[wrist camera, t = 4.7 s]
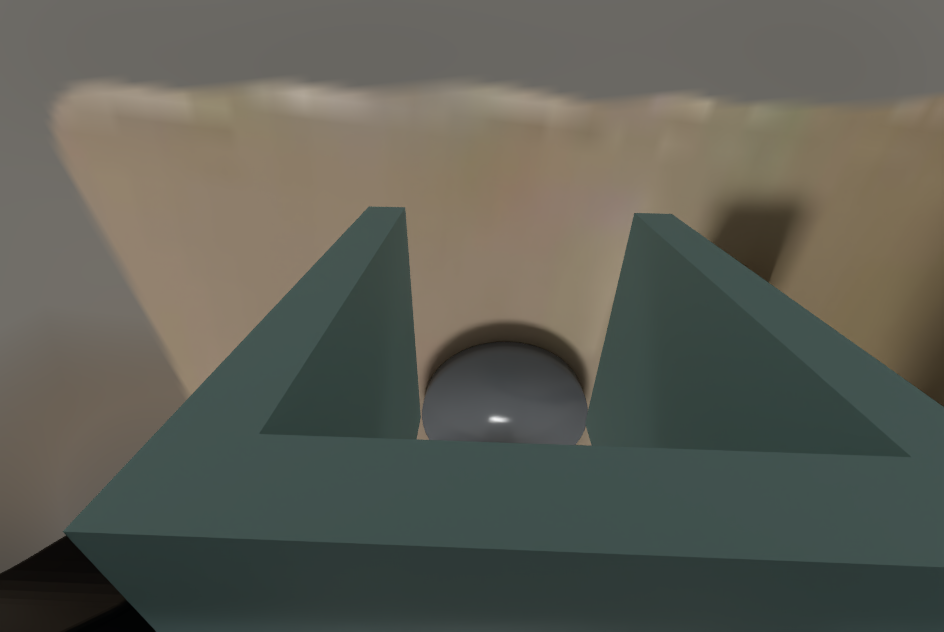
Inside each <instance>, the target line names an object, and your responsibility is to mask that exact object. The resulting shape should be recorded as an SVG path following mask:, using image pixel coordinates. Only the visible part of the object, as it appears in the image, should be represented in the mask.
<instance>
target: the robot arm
mask: <svg viewBox="0 0 944 632" xmlns="http://www.w3.org/2000/svg"><path fill="white" fill-rule="evenodd" d="M0 632H156V631H155V630H154V629H153V628H152V626H151V625H150V624H149V623H148V622H147V621H146V620H145V619H144V618H143V617H142V616H141V615H140V614H139V613H138V611H137V610H136V609H135V608H134V607H133V606H132V605H131V604H130V603H129V602H128V601H127V600H126V599H125V598H124V596H123V595H122V594H121V593H120V592H119V591H118V590H117V589H116V588H115V587H114V586H113V585H112V584H111V583H110V581H109V580H108V579H107V578H106V577H105V576H104V575H103V574H102V573H101V572H100V571H99V570H98V569H97V568H96V566H95V565H94V564H93V563H92V562H91V561H90V560H89V559H88V558H87V557H86V556H85V555H84V554H83V553H82V551H81V550H80V549H79V548H78V547H77V546H76V545H75V544H74V543H73V542H72V541H71V540H70V539H69V538H68V537H67V535H66V536H64V537H63V538H61V539H59V540H58V541H56V542H54V543H53V544H51V545H49V546H48V547H46V548H44V549H43V550H41V551H39V552H38V553H36V554H34V555H33V556H31V557H29V558H28V559H26V560H24V561H22V562H21V563H19V564H17V565H15V566H14V567H12V568H10V569H8V570H6V571H4V572H2V573H0Z"/></svg>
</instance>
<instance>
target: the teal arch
mask: <svg viewBox="0 0 944 632" xmlns="http://www.w3.org/2000/svg"><path fill="white" fill-rule="evenodd" d="M420 418H421V416H420V403H419V389H418V375H417V362H416V348H415V334H414V321H413V307H412V294H411V280H410V266H409V253H408V239H407V226H406V212H405V207H368V208H367V209H366V210H365V211H364V212H363V213H362V215H361V216H360V217H359V218H358V219H357V220H356V221H355V222H354V223H353V224H352V225H351V226H350V227H349V228H348V229H347V230H346V232H345V233H344V234H343V235H342V236H341V237H340V238H339V239H338V240H337V241H336V242H335V243H334V244H333V245H332V246H331V247H330V249H329V250H328V251H327V252H326V253H325V254H324V255H323V256H322V257H321V258H320V259H319V260H318V261H317V262H316V263H315V264H314V265H313V267H312V268H311V269H310V270H309V271H308V272H307V273H306V274H305V275H304V276H303V277H302V278H301V279H300V280H299V281H298V282H297V284H296V285H295V286H294V287H293V288H292V289H291V290H290V291H289V292H288V293H287V294H286V295H285V296H284V297H283V298H282V299H281V301H280V302H279V303H278V304H277V305H276V306H275V307H274V308H273V309H272V310H271V311H270V312H269V313H268V314H267V315H266V316H265V318H264V319H263V320H262V321H261V322H260V323H259V324H258V325H257V326H256V327H255V328H254V329H253V330H252V331H251V332H250V333H249V334H248V336H247V337H246V338H245V339H244V340H243V341H242V342H241V343H240V344H239V345H238V346H237V347H236V348H235V349H234V350H233V351H232V353H231V354H230V355H229V356H228V357H227V358H226V359H225V360H224V361H223V362H222V363H221V364H220V365H219V366H218V367H217V368H216V370H215V371H214V372H213V373H212V374H211V375H210V376H209V377H208V378H207V379H206V380H205V381H204V382H203V383H202V384H201V385H200V387H199V388H198V389H197V390H196V391H195V392H194V393H193V394H192V395H191V396H190V397H189V398H188V399H187V400H186V401H185V403H184V404H183V405H182V406H181V407H180V408H179V409H178V410H177V411H176V412H175V413H174V414H173V415H172V416H171V417H170V418H169V419H168V420H167V422H166V423H165V424H164V425H163V426H162V427H161V428H160V429H159V430H158V431H157V432H156V433H155V434H154V435H153V436H152V437H151V439H150V440H149V441H148V442H147V443H146V444H145V445H144V446H143V447H142V448H141V449H140V450H139V451H138V452H137V454H136V455H135V456H134V457H133V458H132V459H131V460H130V461H129V462H128V463H127V464H126V465H125V466H124V467H123V468H122V469H121V471H120V472H118V474H117V475H116V476H115V477H114V478H113V479H112V480H111V481H110V482H109V483H108V484H107V485H106V486H105V487H104V489H102V491H101V492H100V493H99V494H98V495H97V496H96V497H95V498H94V499H93V500H92V501H91V502H90V503H89V504H88V506H86V508H85V509H84V510H83V511H82V512H81V513H80V514H79V515H78V516H77V517H76V518H75V519H74V520H73V521H72V523H71V524H70V525H69V526H68V527H67V528H66V529H65V530H64V531H63V532H64V533H65V534H66V535H67V537H68V538H69V539H70V540H71V541H72V542H73V543H74V544H75V545H76V546H77V547H78V548H79V549H80V550H81V551H82V553H83V554H84V555H85V556H86V557H87V558H88V559H89V560H90V561H91V562H92V563H93V564H94V565H95V566H96V568H97V569H98V570H99V571H100V572H101V573H102V574H103V575H104V576H105V577H106V578H107V579H108V580H109V581H110V583H111V584H112V585H113V586H114V587H115V588H116V589H117V590H118V591H119V592H120V593H121V594H122V595H123V596H124V598H125V599H126V600H127V601H128V602H129V603H130V604H131V605H132V606H133V607H134V608H135V609H136V610H137V611H138V613H139V614H140V615H141V616H142V617H143V618H144V619H145V620H146V621H147V622H148V623H149V624H150V625H151V626H152V628H153V629H154V630H155V631H156V632H944V407H943V406H942V405H940V404H939V403H937V402H936V401H935V400H933V399H932V398H930V397H929V396H927V395H926V394H925V393H923V392H922V391H920V390H919V389H918V388H916V387H915V386H913V385H912V384H911V383H909V382H908V381H906V380H905V379H903V378H902V377H901V376H899V375H898V374H896V373H895V372H894V371H892V370H891V369H889V368H888V367H887V366H885V365H884V364H882V363H881V362H880V361H878V360H877V359H875V358H874V357H872V356H871V355H870V354H868V353H867V352H865V351H864V350H863V349H861V348H860V347H858V346H857V345H856V344H854V343H853V342H851V341H850V340H849V339H847V338H846V337H844V336H843V335H841V334H840V333H839V332H837V331H836V330H834V329H833V328H832V327H830V326H829V325H827V324H826V323H825V322H823V321H822V320H820V319H819V318H818V317H816V316H815V315H813V314H812V313H810V312H809V311H808V310H806V309H805V308H803V307H802V306H801V305H799V304H798V303H796V302H795V301H794V300H792V299H791V298H789V297H788V296H786V295H785V294H784V293H782V292H781V291H779V290H778V289H777V288H775V287H774V286H772V285H771V284H770V283H768V282H767V281H765V280H764V279H763V278H761V277H760V276H758V275H757V274H755V273H754V272H753V271H751V270H750V269H748V268H747V267H746V266H744V265H743V264H741V263H740V262H739V261H737V260H736V259H734V258H733V257H732V256H730V255H729V254H727V253H726V252H724V251H723V250H722V249H720V248H719V247H717V246H716V245H715V244H713V243H712V242H710V241H709V240H708V239H706V238H705V237H703V236H702V235H700V234H699V233H698V232H696V231H695V230H693V229H692V228H691V227H689V226H688V225H686V224H685V223H684V222H682V221H681V220H679V219H678V218H677V217H675V216H674V215H672V214H650V213H634V217H633V222H632V226H631V230H630V234H629V239H628V243H627V247H626V251H625V256H624V260H623V264H622V268H621V273H620V277H619V281H618V286H617V290H616V294H615V298H614V303H613V307H612V311H611V315H610V320H609V324H608V328H607V333H606V337H605V341H604V345H603V350H602V354H601V358H600V362H599V367H598V371H597V375H596V379H595V384H594V388H593V392H592V397H591V401H590V405H589V409H588V414H587V418H586V422H585V424H586V427H587V431H588V434H589V438H590V441H591V444H592V446H583V445H555V444H527V443H499V442H470V441H442V440H416V438H417V433H418V428H419V423H420Z"/></svg>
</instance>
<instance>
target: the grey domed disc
mask: <svg viewBox="0 0 944 632" xmlns="http://www.w3.org/2000/svg"><path fill="white" fill-rule="evenodd" d="M587 414H588V409H587V403H586V399H585V396H584V393H583V390H582V387H581V384H580V382H579V379H578V377H577V376H576V374H575V373H574V371H573V370H572V369H571V368H570V367H569V366H568V364H567V363H565V362H564V361H563V360H562V359H560V358H559V357H557V356H556V355H554V354H553V353H551V352H549V351H547V350H544V349H542V348H539V347H536V346H533V345H529V344H524V343H517V342H493V343H486V344H482V345H477V346H474V347H471V348H468V349H466V350H463V351H461V352H459V353H457V354H456V355H454V356H452V357H451V358H449V359H448V360H447V361H445V362H444V363H443V364H442V365H441V366H440V367H439V368H438V369H437V370H436V372H435V373H434V374H433V376H432V378H431V379H430V381H429V383H428V386H427V389H426V393H425V398H424V404H423V409H422V420H423V426H424V429H425V432H426V434H427V436H428V438H429V439H430V440H442V441H470V442H499V443H527V444H555V445H575V444H576V443H577V442H578V440H579V439H580V438H581V436H582V434H583V432H584V430H585V427H586V424H585V422H586V418H587Z"/></svg>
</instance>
